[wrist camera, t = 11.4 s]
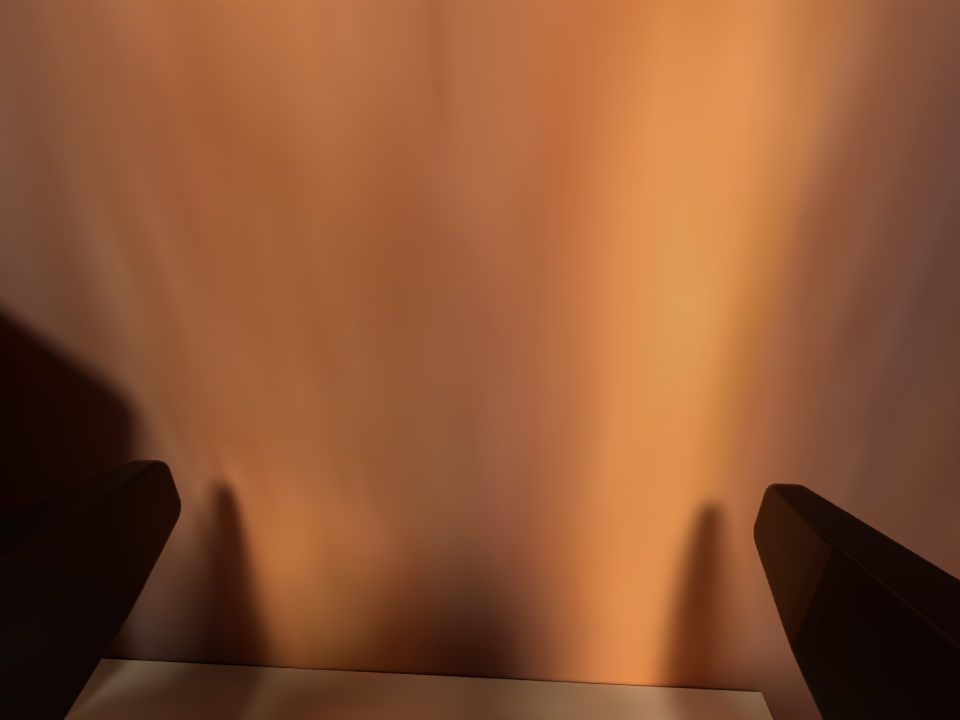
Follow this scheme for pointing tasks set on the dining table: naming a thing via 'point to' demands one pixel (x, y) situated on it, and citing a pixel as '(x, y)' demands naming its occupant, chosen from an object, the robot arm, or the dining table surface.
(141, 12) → the dining table surface
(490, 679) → the wall board
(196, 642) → the dining table surface
